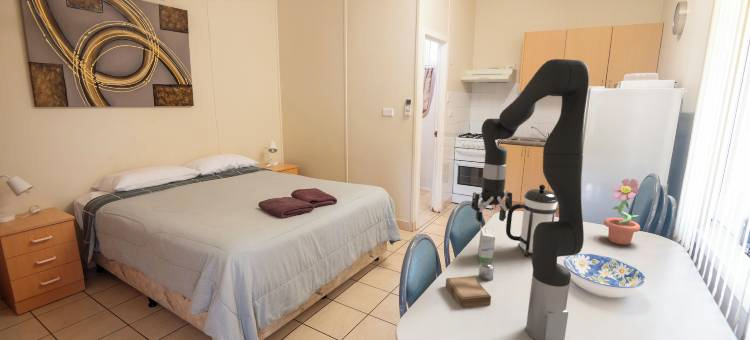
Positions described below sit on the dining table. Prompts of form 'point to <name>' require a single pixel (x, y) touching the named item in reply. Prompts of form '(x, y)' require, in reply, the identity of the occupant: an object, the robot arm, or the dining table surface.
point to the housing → (486, 271)
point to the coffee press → (533, 215)
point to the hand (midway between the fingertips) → (490, 220)
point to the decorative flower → (623, 214)
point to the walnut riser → (468, 292)
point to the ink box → (486, 245)
